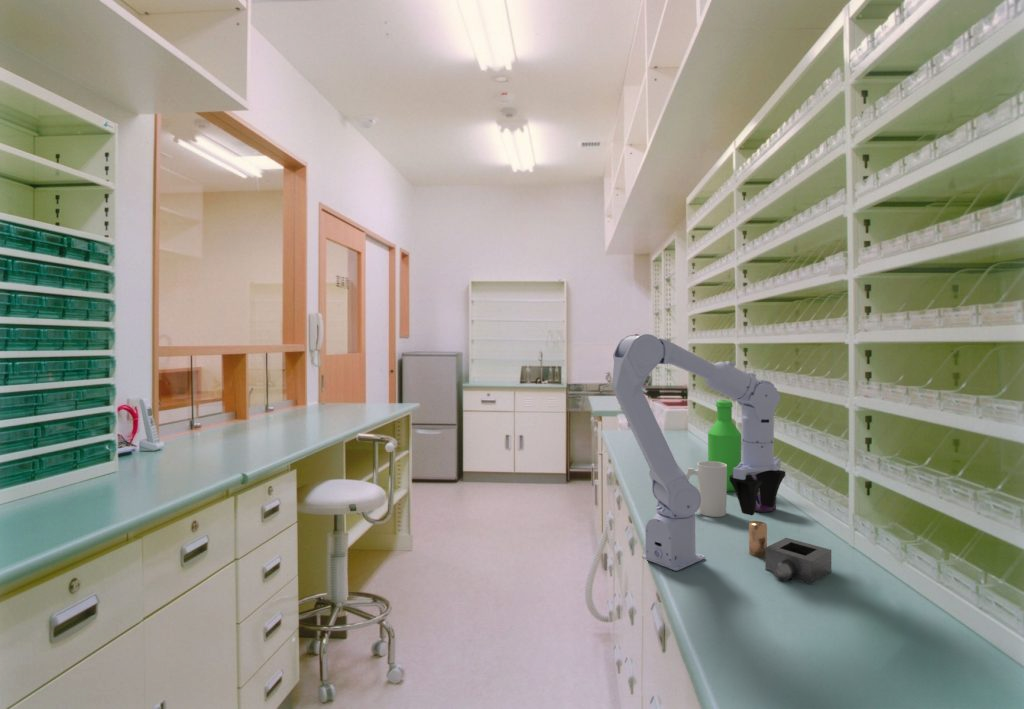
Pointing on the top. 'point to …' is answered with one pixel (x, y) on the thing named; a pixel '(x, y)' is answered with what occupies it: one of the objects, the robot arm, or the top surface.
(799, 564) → the valve body
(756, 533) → the tapered valve plug
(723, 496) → the mug
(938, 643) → the top surface
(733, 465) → the bottle
